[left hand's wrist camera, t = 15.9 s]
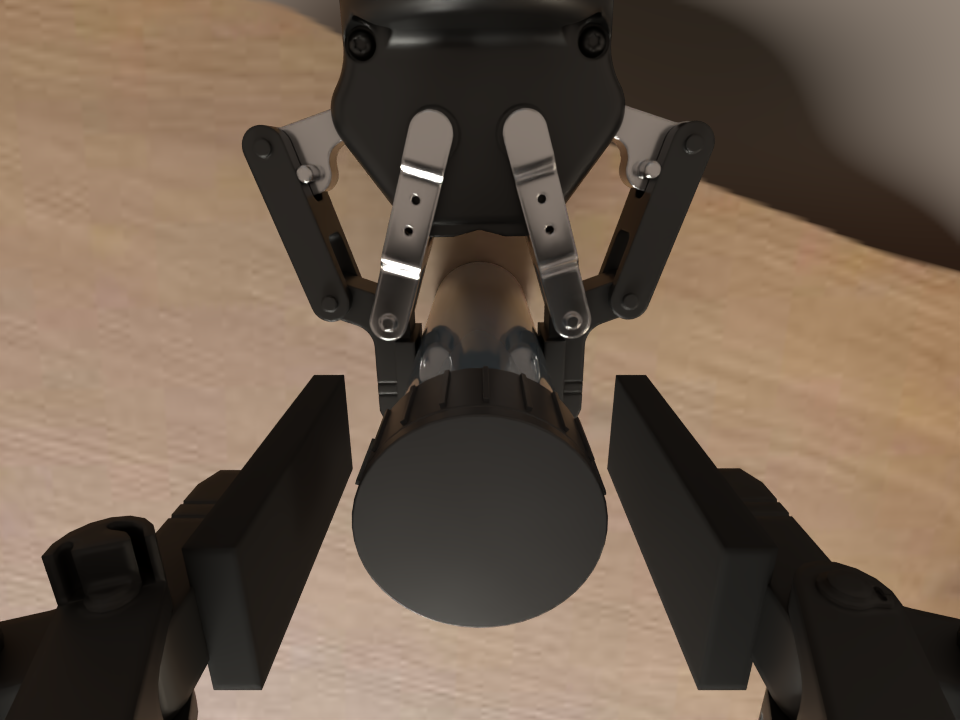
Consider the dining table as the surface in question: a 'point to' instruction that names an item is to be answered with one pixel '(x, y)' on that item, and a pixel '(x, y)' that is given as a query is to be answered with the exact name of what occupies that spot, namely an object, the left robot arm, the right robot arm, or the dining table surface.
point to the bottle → (479, 327)
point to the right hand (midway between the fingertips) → (481, 426)
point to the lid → (479, 500)
